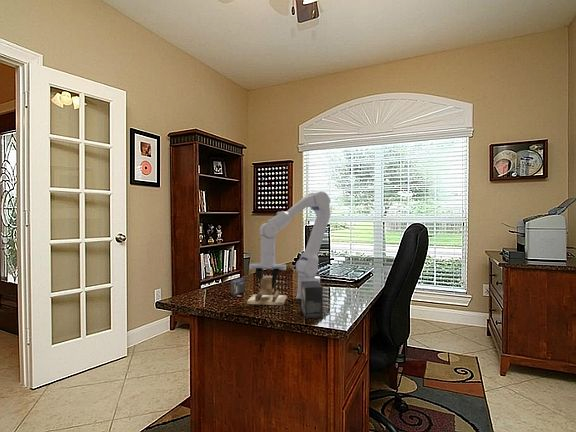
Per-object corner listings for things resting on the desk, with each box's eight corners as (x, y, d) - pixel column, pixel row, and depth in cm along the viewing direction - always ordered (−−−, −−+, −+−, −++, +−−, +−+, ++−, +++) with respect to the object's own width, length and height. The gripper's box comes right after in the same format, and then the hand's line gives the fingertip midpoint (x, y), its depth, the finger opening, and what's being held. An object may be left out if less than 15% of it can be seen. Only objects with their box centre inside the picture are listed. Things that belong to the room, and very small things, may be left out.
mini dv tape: (233, 295, 146) (233, 281, 146) (230, 294, 147) (230, 280, 147) (244, 291, 154) (245, 278, 154) (242, 291, 154) (242, 277, 154)
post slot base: (286, 297, 142) (286, 290, 142) (283, 305, 130) (283, 297, 130) (253, 296, 143) (253, 290, 143) (246, 303, 131) (246, 296, 132)
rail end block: (273, 290, 140) (274, 276, 140) (270, 295, 132) (271, 279, 132) (264, 290, 141) (264, 275, 141) (260, 294, 133) (260, 279, 133)
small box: (300, 309, 124) (300, 280, 124) (318, 309, 124) (318, 280, 124) (304, 318, 113) (304, 286, 113) (323, 318, 114) (323, 286, 114)
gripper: (247, 254, 134) (247, 289, 134) (284, 254, 132) (284, 290, 132) (251, 252, 141) (251, 285, 141) (286, 252, 139) (286, 286, 139)
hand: (267, 287), depth 137 cm, fingers closed on rail end block, 4 cm apart
